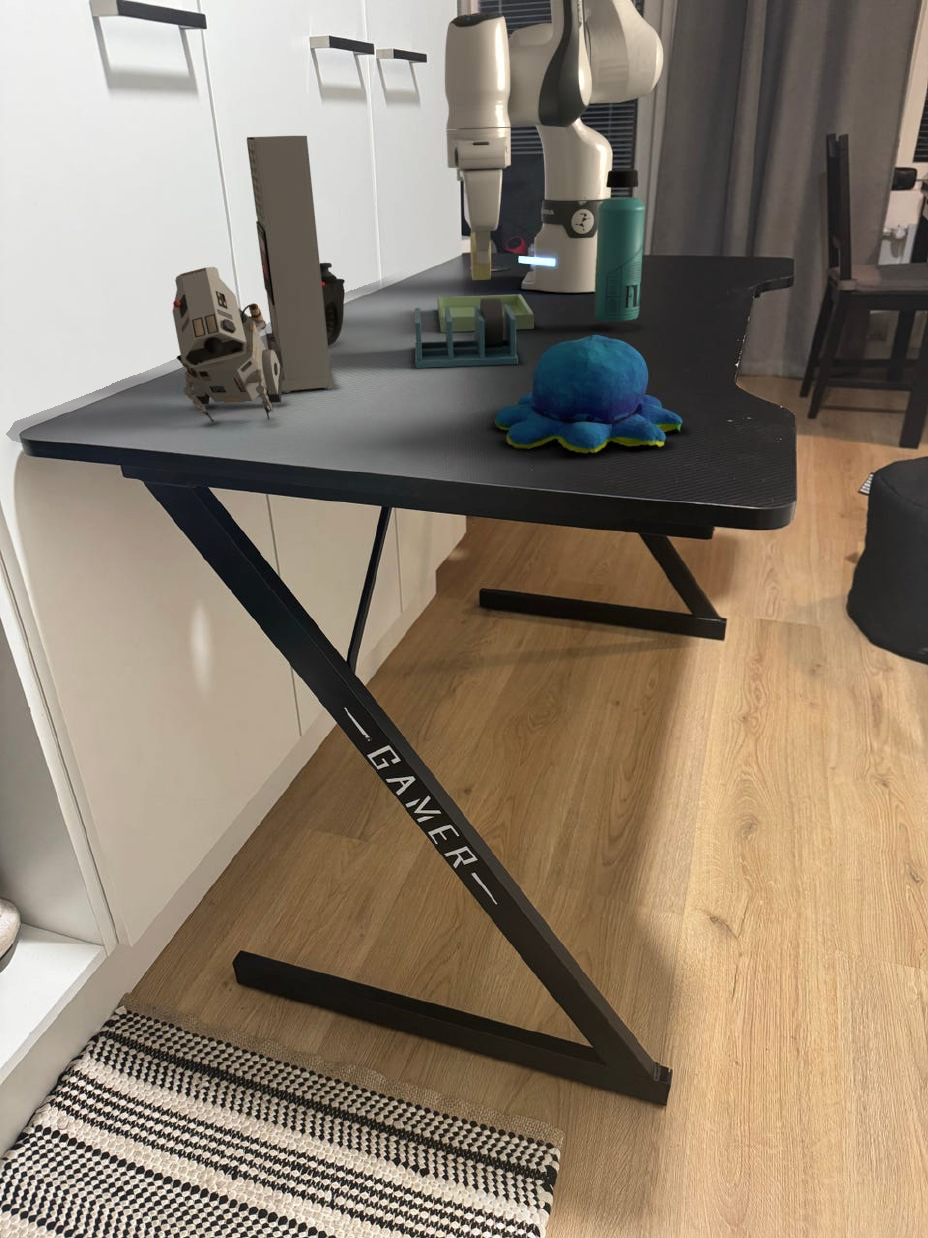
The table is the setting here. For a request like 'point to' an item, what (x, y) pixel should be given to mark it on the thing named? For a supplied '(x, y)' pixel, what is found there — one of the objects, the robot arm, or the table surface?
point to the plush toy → (588, 400)
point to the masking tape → (479, 269)
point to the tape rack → (466, 345)
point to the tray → (465, 307)
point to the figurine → (222, 344)
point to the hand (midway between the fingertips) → (480, 260)
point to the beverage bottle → (619, 251)
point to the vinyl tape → (492, 321)
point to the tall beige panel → (290, 259)
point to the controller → (332, 302)
